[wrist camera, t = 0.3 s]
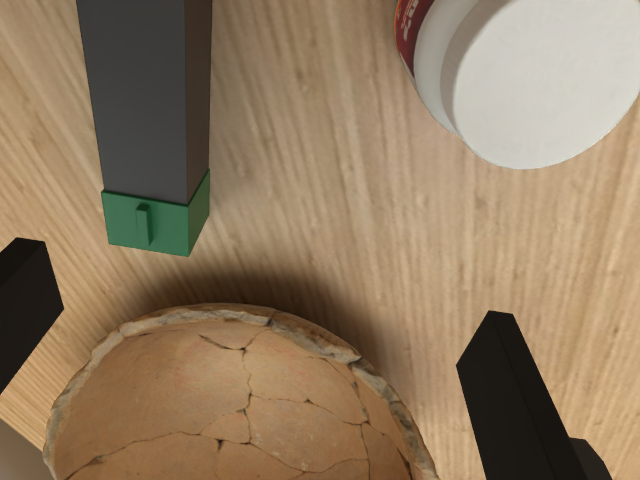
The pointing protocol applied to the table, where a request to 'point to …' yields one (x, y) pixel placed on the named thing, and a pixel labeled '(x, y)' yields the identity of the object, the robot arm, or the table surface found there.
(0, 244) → the table surface
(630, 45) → the pill bottle
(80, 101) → the table surface
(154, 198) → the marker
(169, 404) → the ceramic bowl
